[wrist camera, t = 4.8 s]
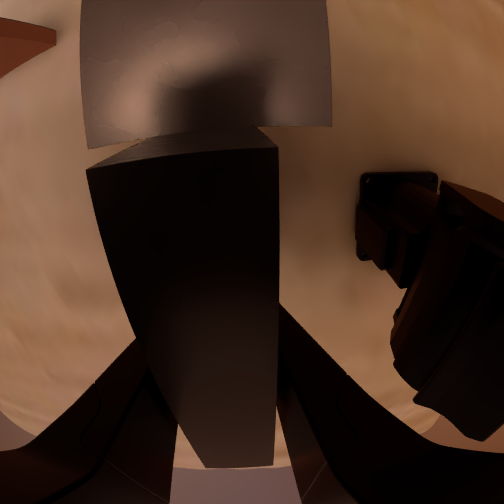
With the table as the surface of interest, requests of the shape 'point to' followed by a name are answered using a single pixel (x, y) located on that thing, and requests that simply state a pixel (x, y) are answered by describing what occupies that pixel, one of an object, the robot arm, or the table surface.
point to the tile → (22, 43)
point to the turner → (201, 193)
